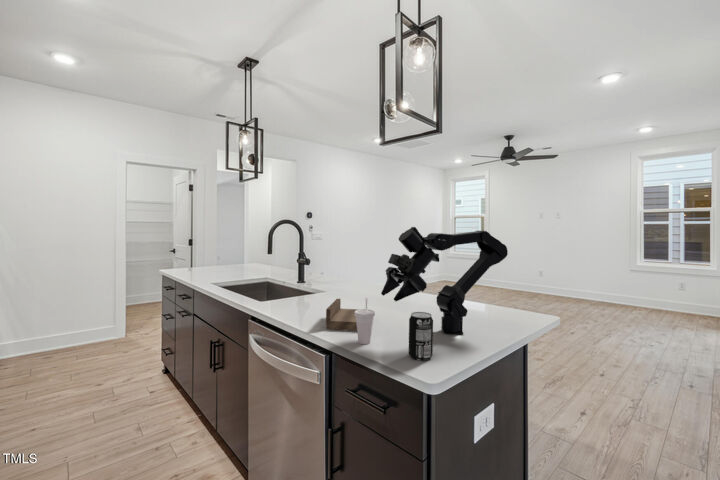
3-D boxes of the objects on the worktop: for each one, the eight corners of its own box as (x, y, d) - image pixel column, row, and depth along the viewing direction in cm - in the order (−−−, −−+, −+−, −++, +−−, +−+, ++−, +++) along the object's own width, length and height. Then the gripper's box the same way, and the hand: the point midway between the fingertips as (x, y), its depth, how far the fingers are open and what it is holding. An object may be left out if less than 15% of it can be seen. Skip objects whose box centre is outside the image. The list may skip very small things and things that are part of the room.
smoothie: (372, 346, 101) (373, 300, 100) (352, 344, 102) (352, 299, 102) (375, 339, 107) (376, 296, 107) (356, 338, 109) (356, 295, 108)
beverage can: (416, 350, 98) (416, 310, 98) (436, 356, 94) (437, 314, 93) (404, 357, 93) (404, 314, 93) (425, 363, 89) (426, 318, 88)
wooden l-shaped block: (371, 317, 134) (371, 300, 133) (365, 331, 116) (365, 311, 116) (336, 315, 136) (336, 298, 135) (326, 329, 118) (326, 309, 117)
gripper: (391, 243, 117) (361, 276, 114) (418, 247, 100) (384, 285, 96) (410, 265, 120) (382, 297, 117) (440, 272, 103) (408, 310, 99)
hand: (388, 297), depth 107 cm, fingers open, 9 cm apart
